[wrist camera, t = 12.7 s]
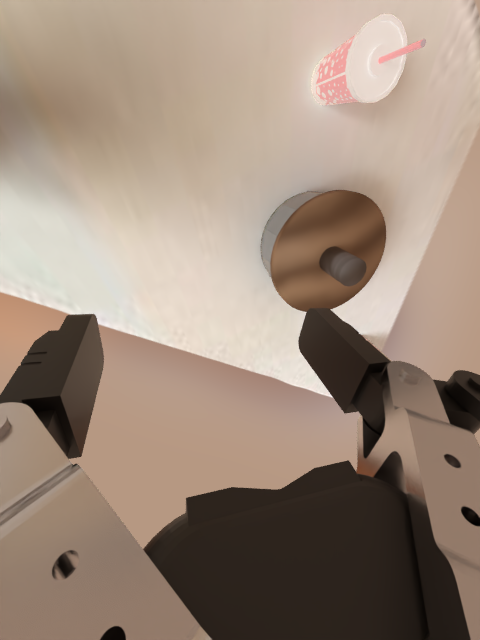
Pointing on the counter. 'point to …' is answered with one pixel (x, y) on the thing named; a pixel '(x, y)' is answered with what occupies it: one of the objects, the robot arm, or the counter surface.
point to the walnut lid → (328, 250)
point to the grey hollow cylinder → (280, 224)
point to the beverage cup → (364, 64)
